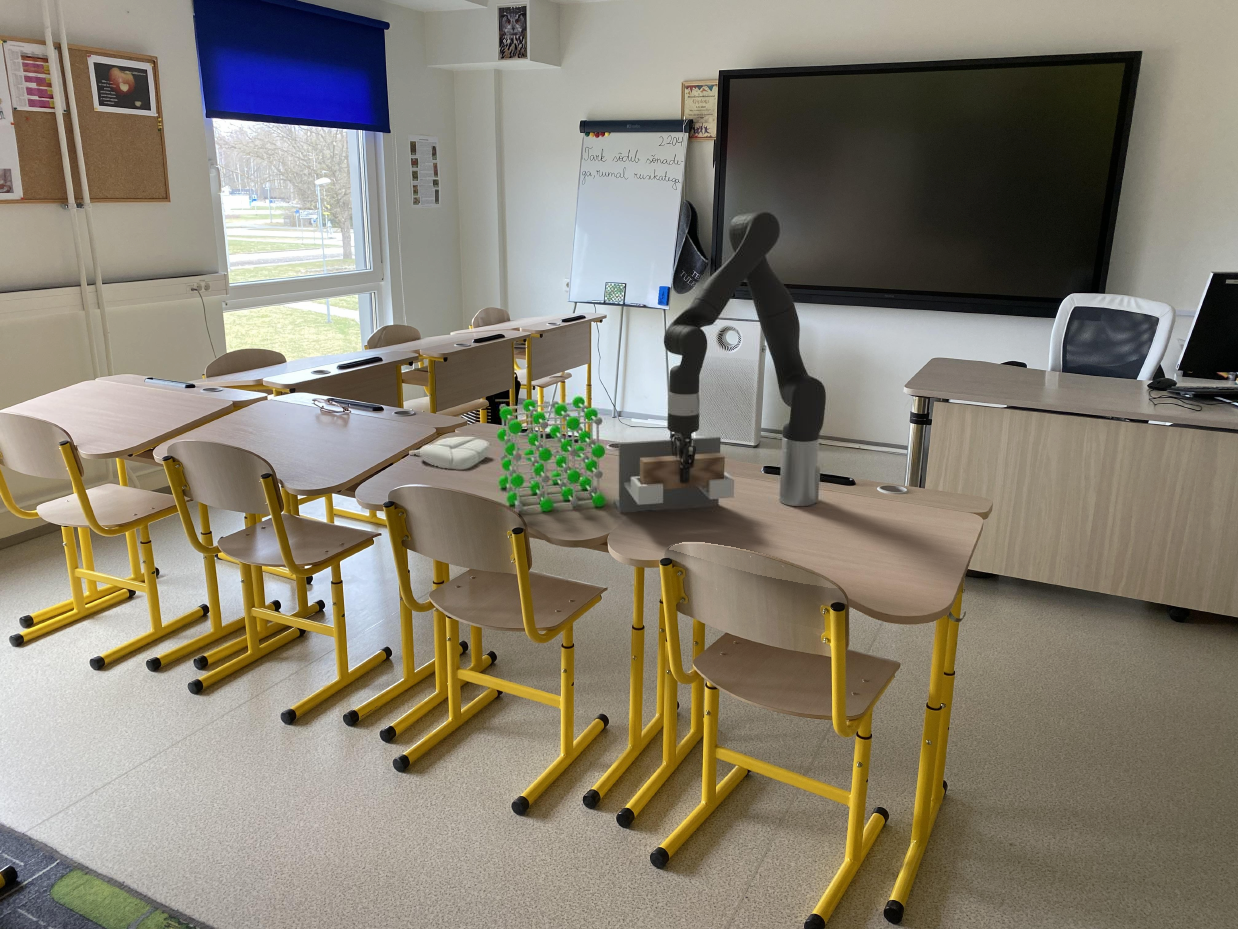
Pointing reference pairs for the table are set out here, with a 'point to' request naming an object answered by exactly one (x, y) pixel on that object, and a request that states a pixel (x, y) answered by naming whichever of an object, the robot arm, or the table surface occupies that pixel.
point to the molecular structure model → (546, 453)
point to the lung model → (454, 452)
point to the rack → (654, 494)
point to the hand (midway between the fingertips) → (682, 479)
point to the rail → (669, 470)
